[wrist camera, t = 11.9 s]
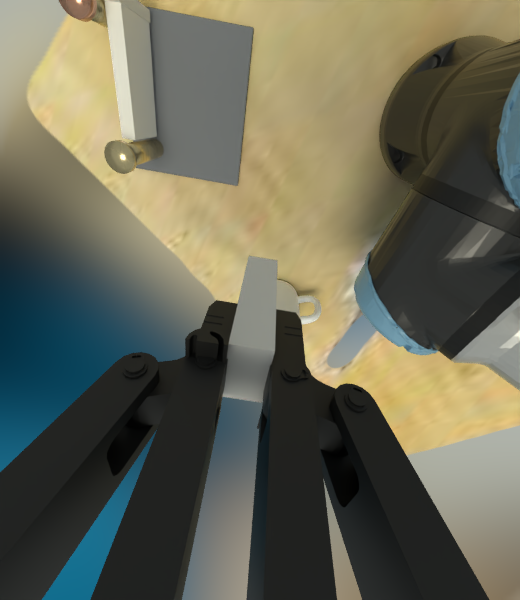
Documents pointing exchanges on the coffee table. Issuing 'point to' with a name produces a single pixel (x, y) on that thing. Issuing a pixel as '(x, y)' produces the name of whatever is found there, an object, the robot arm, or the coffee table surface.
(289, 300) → the cup
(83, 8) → the brass capped rod
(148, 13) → the beige piece
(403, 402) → the coffee table surface
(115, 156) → the hinge post
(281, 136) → the coffee table surface
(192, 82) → the mat
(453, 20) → the coffee table surface
